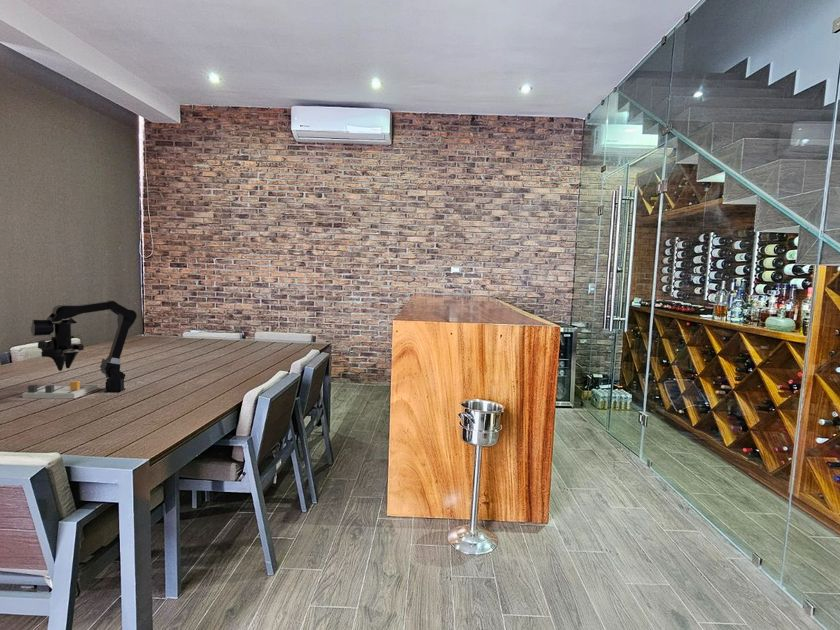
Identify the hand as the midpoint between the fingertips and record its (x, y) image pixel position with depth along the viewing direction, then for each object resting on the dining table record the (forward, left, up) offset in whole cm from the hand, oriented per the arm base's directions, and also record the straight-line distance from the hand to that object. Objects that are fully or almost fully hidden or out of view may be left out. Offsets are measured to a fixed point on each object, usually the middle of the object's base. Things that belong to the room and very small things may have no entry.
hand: (64, 369), depth 199 cm
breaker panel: (+7, -9, -13) cm, 17 cm away
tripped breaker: (0, -7, -11) cm, 13 cm away
